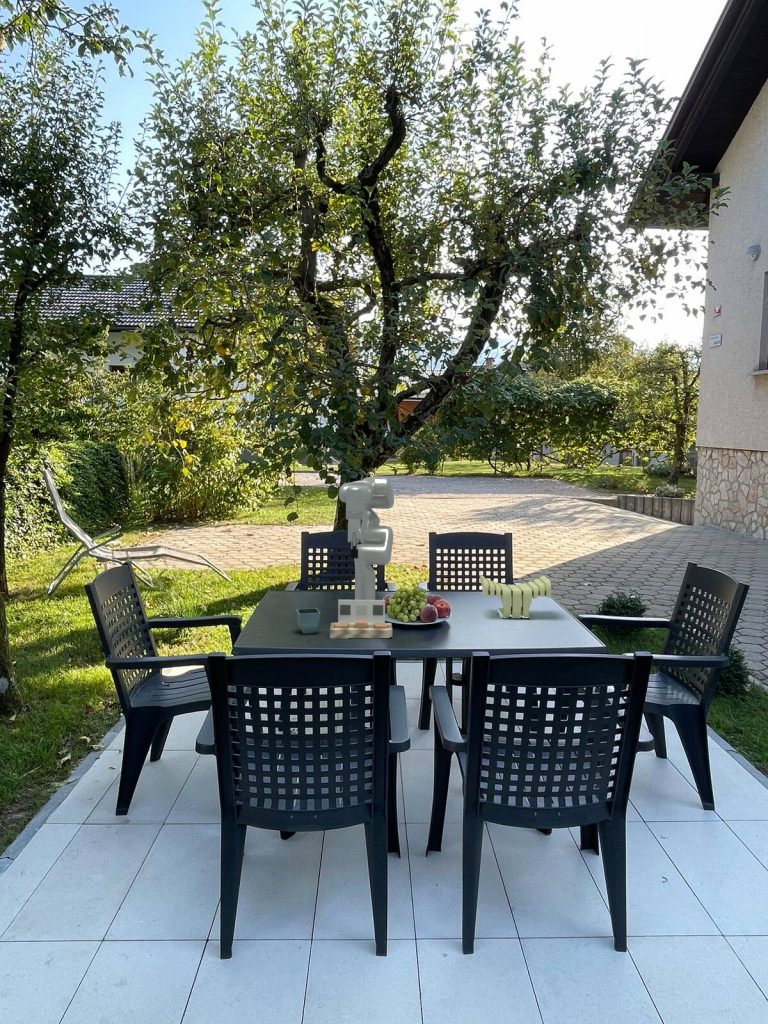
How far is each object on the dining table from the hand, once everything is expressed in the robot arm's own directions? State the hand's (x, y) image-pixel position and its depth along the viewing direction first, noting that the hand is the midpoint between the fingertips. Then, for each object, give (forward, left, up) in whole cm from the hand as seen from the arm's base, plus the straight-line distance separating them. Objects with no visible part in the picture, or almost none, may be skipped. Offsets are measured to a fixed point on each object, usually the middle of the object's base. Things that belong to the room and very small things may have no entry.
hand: (354, 558), depth 310 cm
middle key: (+10, +15, -27) cm, 32 cm away
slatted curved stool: (-65, +39, -29) cm, 81 cm away
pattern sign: (-1, +4, -29) cm, 29 cm away
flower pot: (+23, -3, -29) cm, 37 cm away
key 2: (+4, +21, -28) cm, 35 cm away
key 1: (+16, +9, -28) cm, 34 cm away
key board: (+10, +15, -29) cm, 34 cm away
